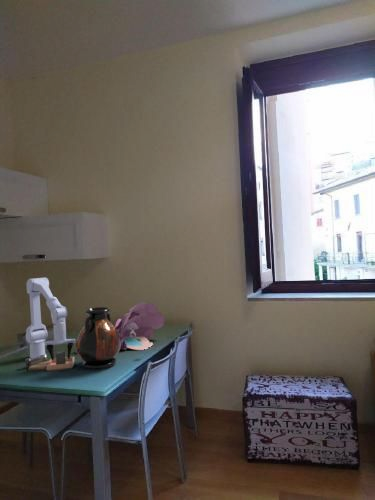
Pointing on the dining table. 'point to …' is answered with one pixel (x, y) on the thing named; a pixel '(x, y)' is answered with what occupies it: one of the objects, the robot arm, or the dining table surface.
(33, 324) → the robot arm
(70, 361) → the tray
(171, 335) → the dining table surface
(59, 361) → the stop block
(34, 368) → the crank base
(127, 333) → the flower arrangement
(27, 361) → the crank lever
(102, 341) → the amphora vase
